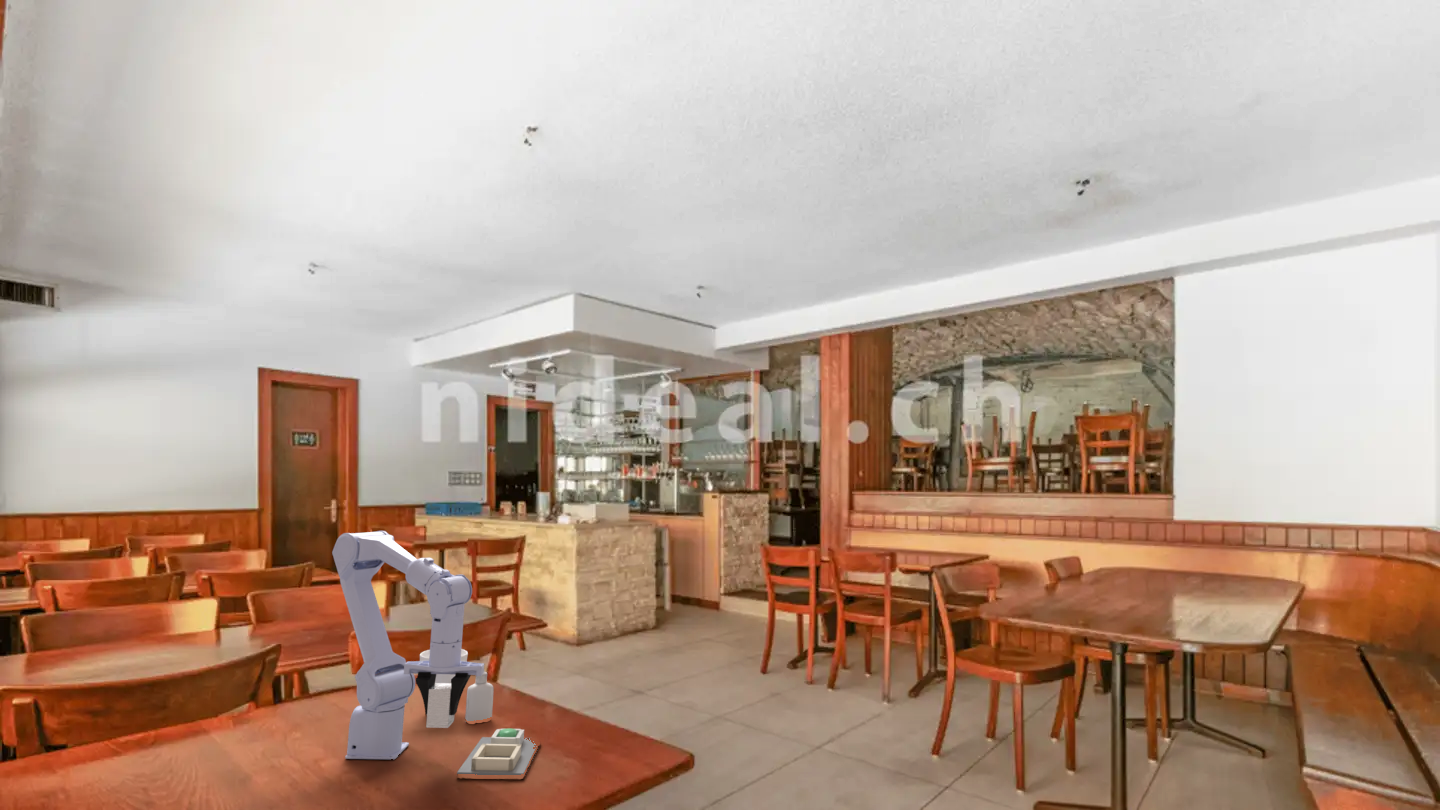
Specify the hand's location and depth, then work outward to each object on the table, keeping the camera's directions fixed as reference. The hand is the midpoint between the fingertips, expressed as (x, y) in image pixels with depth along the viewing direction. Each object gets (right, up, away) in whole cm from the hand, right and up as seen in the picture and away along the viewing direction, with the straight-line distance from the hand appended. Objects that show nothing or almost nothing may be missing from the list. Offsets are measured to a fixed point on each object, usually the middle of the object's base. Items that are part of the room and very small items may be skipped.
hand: (441, 713), depth 142 cm
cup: (-11, -12, +29) cm, 34 cm away
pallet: (+10, -11, +4) cm, 15 cm away
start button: (+10, -10, +9) cm, 17 cm away
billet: (0, -2, 0) cm, 2 cm away
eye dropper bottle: (-1, -12, +25) cm, 28 cm away
